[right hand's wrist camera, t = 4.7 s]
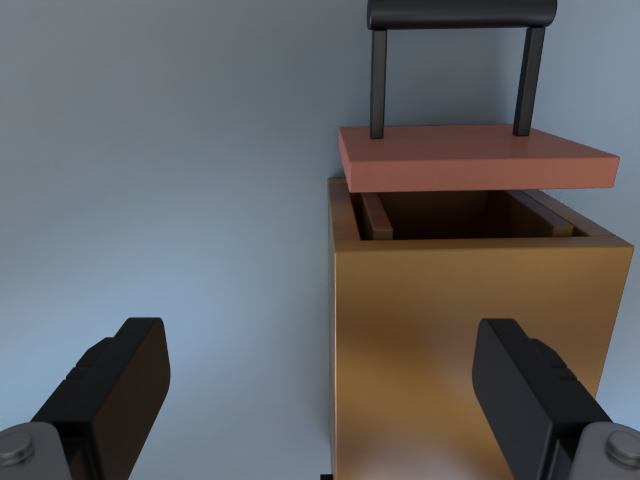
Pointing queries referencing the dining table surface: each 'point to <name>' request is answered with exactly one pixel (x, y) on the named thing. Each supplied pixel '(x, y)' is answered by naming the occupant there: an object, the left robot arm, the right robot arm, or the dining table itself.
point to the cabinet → (451, 335)
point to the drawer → (463, 144)
